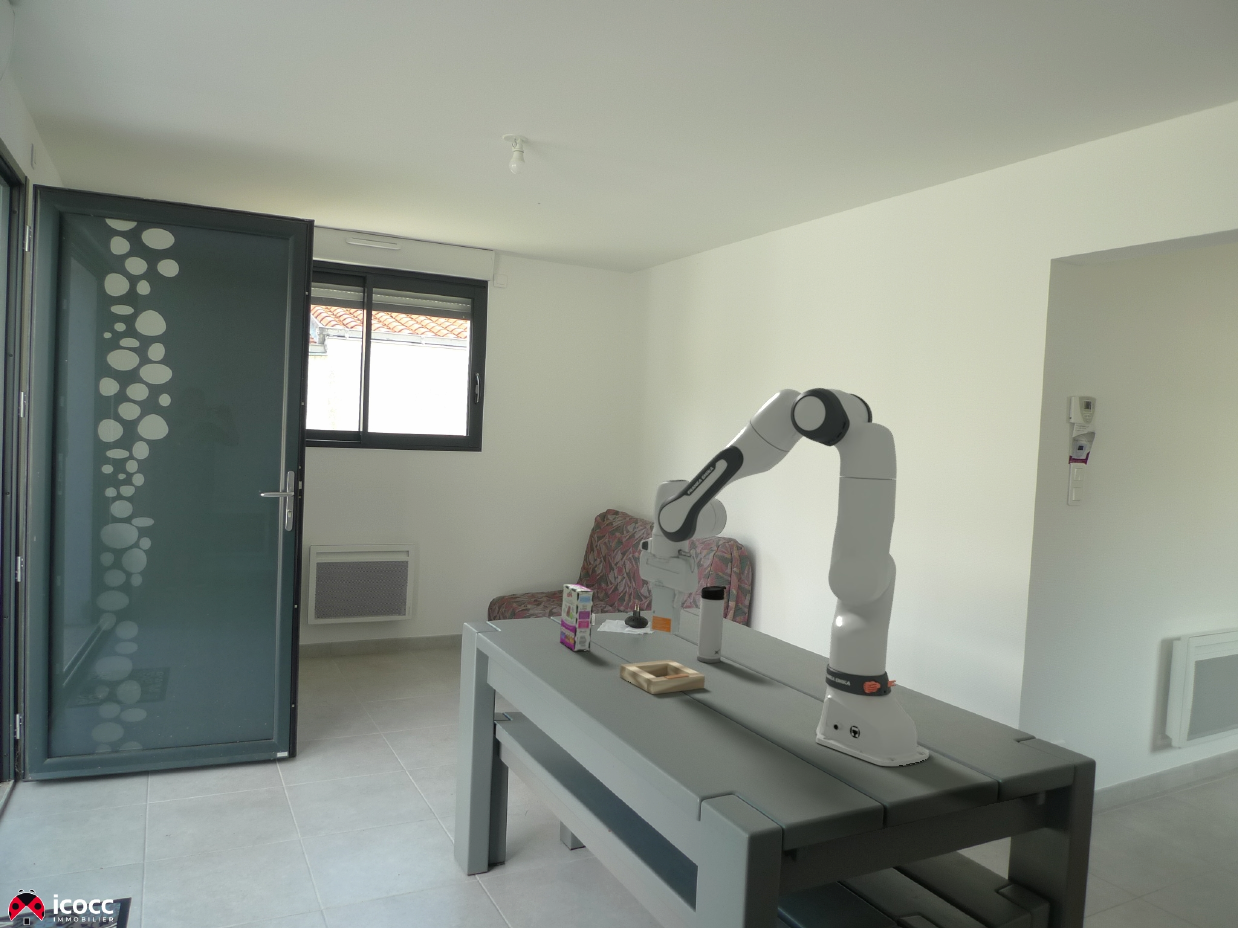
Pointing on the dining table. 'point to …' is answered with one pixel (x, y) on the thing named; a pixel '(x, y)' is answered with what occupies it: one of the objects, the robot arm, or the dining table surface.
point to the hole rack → (675, 680)
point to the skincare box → (664, 610)
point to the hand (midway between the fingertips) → (666, 604)
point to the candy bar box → (576, 617)
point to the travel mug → (711, 624)
